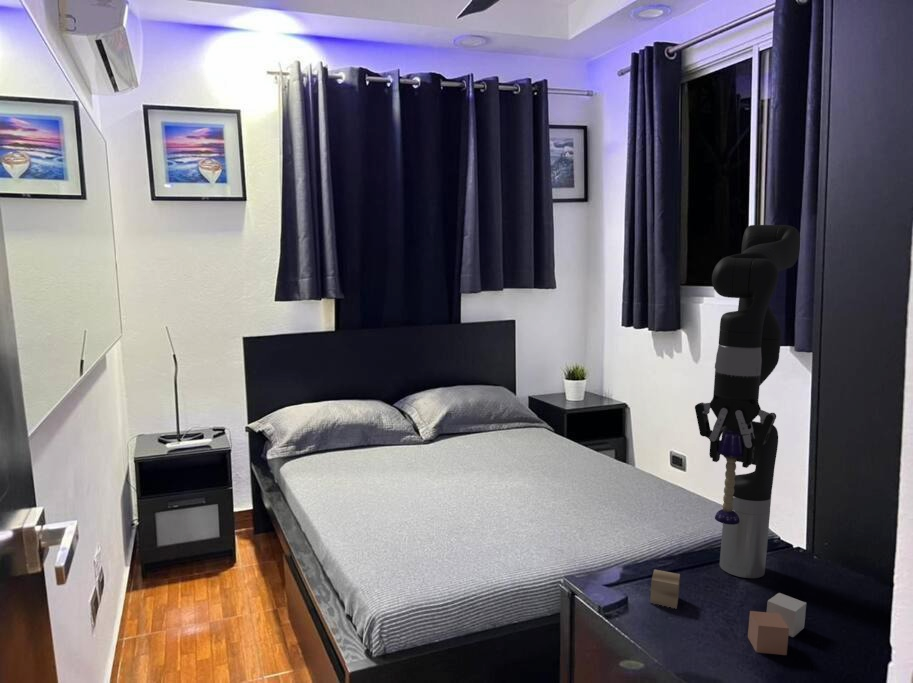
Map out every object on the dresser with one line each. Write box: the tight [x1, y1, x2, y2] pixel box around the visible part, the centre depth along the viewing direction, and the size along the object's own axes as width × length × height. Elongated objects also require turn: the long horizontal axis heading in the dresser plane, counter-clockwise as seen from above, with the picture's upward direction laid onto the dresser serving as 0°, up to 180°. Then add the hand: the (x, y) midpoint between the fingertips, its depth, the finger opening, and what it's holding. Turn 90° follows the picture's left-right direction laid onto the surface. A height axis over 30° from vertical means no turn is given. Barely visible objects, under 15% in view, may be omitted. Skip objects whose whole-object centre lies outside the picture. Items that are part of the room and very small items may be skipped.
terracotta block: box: [747, 610, 789, 656], centre depth 120 cm, size 5×5×5 cm
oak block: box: [649, 569, 681, 610], centre depth 135 cm, size 5×5×5 cm
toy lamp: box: [714, 431, 744, 525], centre depth 124 cm, size 5×5×17 cm
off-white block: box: [766, 592, 807, 638], centre depth 126 cm, size 5×5×5 cm
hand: (730, 463), depth 124 cm, fingers closed on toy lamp, 4 cm apart
